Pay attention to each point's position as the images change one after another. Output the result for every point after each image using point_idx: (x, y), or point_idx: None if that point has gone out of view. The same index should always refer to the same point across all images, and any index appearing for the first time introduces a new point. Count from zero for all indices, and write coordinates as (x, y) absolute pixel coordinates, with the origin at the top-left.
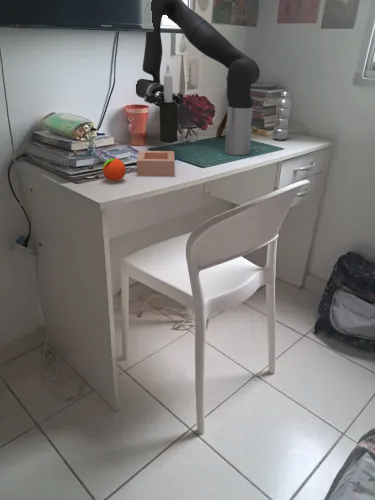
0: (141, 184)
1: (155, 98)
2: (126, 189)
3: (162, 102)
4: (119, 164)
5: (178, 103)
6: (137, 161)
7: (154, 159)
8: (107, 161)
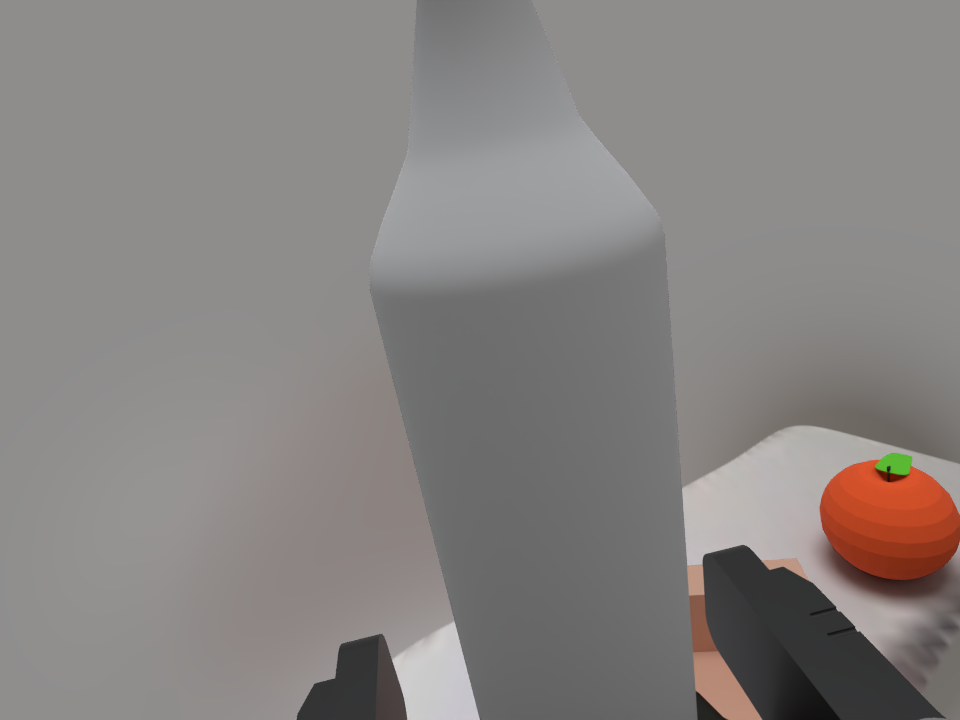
0: (727, 539)
1: (913, 697)
2: (769, 496)
3: (719, 714)
4: (839, 473)
5: (405, 710)
6: (792, 562)
7: (695, 586)
8: (902, 455)
